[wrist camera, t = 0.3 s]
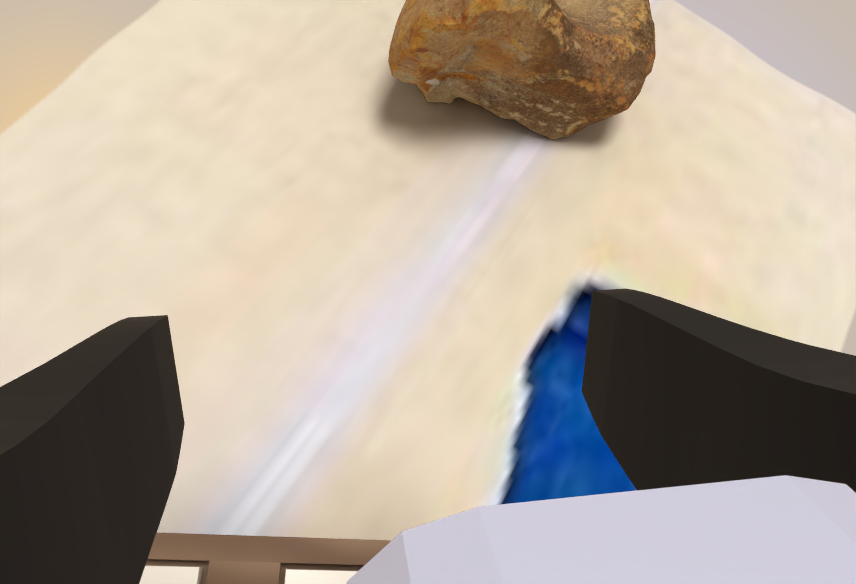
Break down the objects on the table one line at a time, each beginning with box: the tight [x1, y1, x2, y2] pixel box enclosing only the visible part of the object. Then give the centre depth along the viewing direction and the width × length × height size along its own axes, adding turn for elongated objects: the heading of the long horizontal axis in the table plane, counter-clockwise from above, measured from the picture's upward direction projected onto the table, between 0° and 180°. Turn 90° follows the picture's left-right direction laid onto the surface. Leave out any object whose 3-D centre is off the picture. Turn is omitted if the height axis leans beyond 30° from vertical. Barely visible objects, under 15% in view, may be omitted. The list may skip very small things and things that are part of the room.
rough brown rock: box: [389, 0, 655, 139], centre depth 47 cm, size 23×17×15 cm
